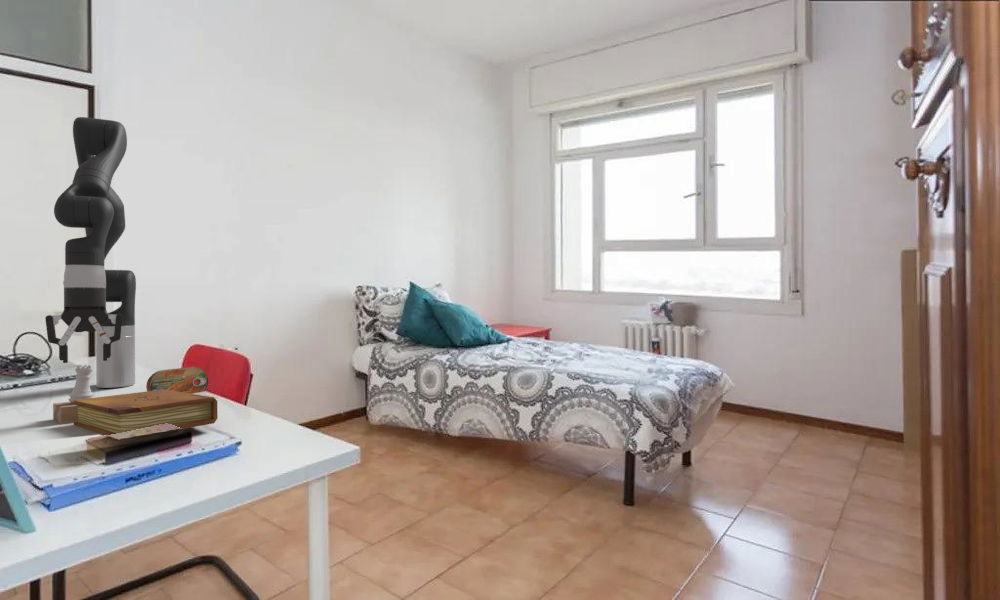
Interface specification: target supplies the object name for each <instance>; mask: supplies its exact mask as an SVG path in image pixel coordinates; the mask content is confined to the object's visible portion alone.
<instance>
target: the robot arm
mask: <svg viewBox="0 0 1000 600" xmlns="http://www.w3.org/2000/svg"><path fill="white" fill-rule="evenodd" d="M72 137H73V144H74V148H75V155H76V161H77V166H78V168H77V169H76V170H75V173H74V177H73V180H72V183H71V184H70V186H69V187H67V188H66V189H65V190H64V191H63V192H62V193H61V194H60V195H59V196H58V198H57V199H56V201H55V204H54V208H53V214H54V217H55V220H56V221H57V223H59V224H60V225H61V226H64V227H66V228H71V229H72V228H78V229H79V228H80V229H84V231H85V236H83V237H77V238H70V239H68V240H67V241H66V243H65V246H64V252H65V253H64V255H65V257H64V259H65V260H64V263H65V266H64V274H63V282H62V283H63V284H62V285H63V312H62V313H61V314H57V315H55V314H54V315H51V314H49V315H46V316H45V326H46V335H47V342H48V343H49V344H54V345H57V346H58V358H59V361H62V363H63V364H68V362H69V345H68V344H67V343H68V342H69V340H70V339H71V337H72V335H73V334H74V333H83V332H88V333H94V332H95V336H96V337H95V338H96V339H95V341H96V342H95V347H96V348H95V353H96V355H95V356H96V357H95V358H96V359H95V360H96V361H95V374H96V378H95V379H96V381H95V383H96V384H95V386H96V388H99V389H101V388H103V389H104V388H105V389H108V388H109V389H110V388H121V387H123V388H124V387H130V386H135V385H134V384H136V319H135V317H136V314H135V313H136V312H135V309H136V306H135V305H136V293H137V292H136V290H137V280H136V274H135V273H134V272H133V271H132V270H131V269H130V270H129V269H128V270H127V269H105V260H106V258H107V256H108V255H109V253H110V251H111V250H112V248H113V247H114V246H115V244H116V243H117V242H118V241H119V239H120V238H121V237H122V235H123V234H124V232H125V230H126V216H125V214H126V212H125V205H124V203H123V201H122V199H121V197H120V196H119V195H118V193H116V190H114V189H113V188H112V184H111V183H112V180H113V178H114V175H115V173H116V171H117V169H118V168H119V166H120V165H121V163H122V161H123V158H124V157H125V156H126V155H125V154H126V152H127V147H128V146H127V145H128V137H127V130H126V128H125V126H124V125H123V124H122V123H121V122H119V121H117V120H116V121H115V120H113V119H112V120H111V119H104V118H103V119H102V118H94V117H83V116H78V117H76V118H75V119H74V120H73V124H72ZM107 303H121V304H120V306H119V307H118V308H116V309H115V310H112V311H110V312H108V311H107ZM60 320H62V321H63V322H64V323H65V324H66V325H67V328H66V329H65V330H66V331H64V334H63V335H62V336H61V338H59V337H57V334H56V327H55V326H57V325H58V324H59V322H60Z"/></svg>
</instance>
